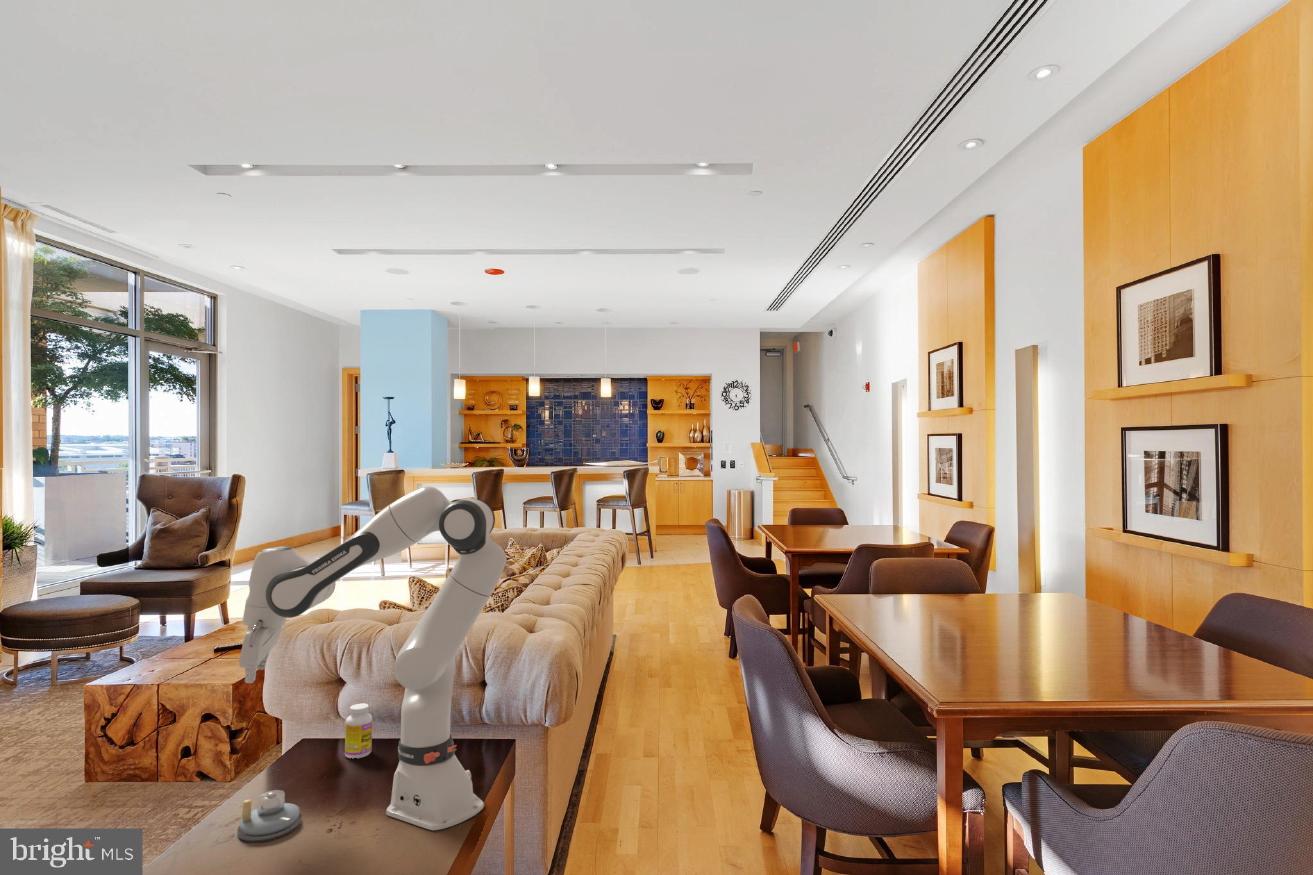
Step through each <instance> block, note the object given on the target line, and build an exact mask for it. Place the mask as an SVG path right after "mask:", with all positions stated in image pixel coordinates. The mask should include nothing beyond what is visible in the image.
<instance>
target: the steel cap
mask: <svg viewBox="0 0 1313 875" xmlns="http://www.w3.org/2000/svg"><path fill="white" fill-rule="evenodd" d="M285 796H286V794H285V791H284V790H282V789H281V790H280V789H273V790H269V791H265V792H264V793H261V794H260V795H259V796H258V797H257V804H256V805H257V808H256V809H257V814H258V815H259V816H262V817H266V816H272V815H276V814H278V813H280V812H282V811H283V810H284V804H285V803H286V801H285V800H286V799H285V798H286V797H285Z"/></svg>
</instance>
